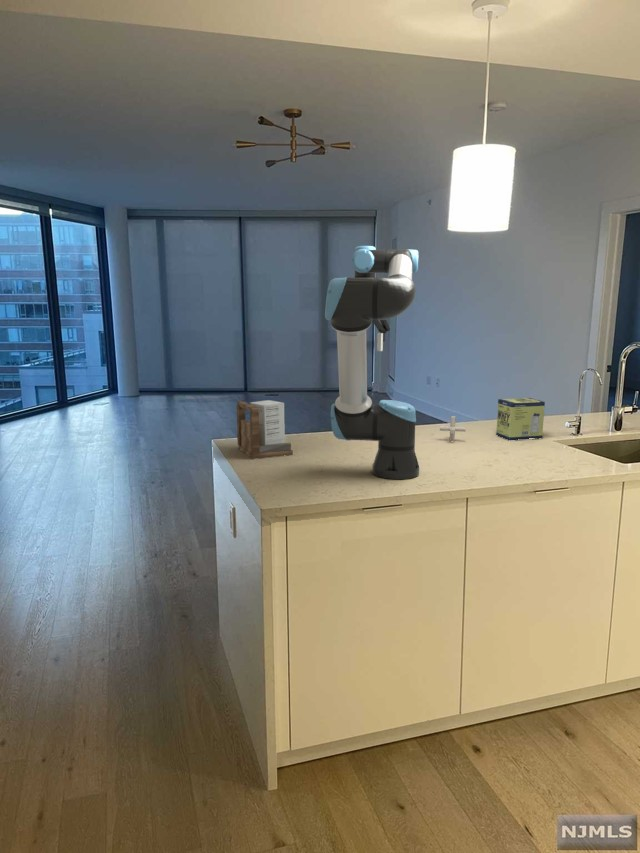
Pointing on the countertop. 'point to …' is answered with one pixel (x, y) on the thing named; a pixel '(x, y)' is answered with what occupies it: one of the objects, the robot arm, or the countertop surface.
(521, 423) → the protein box
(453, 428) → the pipe connector
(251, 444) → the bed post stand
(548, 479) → the countertop surface
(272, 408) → the supplement box
